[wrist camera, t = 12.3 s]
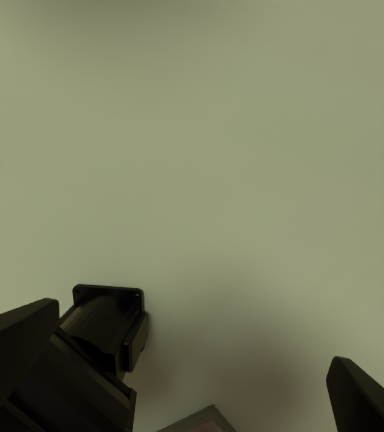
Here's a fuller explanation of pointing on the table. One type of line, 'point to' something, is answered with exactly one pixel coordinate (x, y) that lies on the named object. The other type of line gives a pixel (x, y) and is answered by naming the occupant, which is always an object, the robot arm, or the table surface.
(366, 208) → the table surface
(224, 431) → the plate
